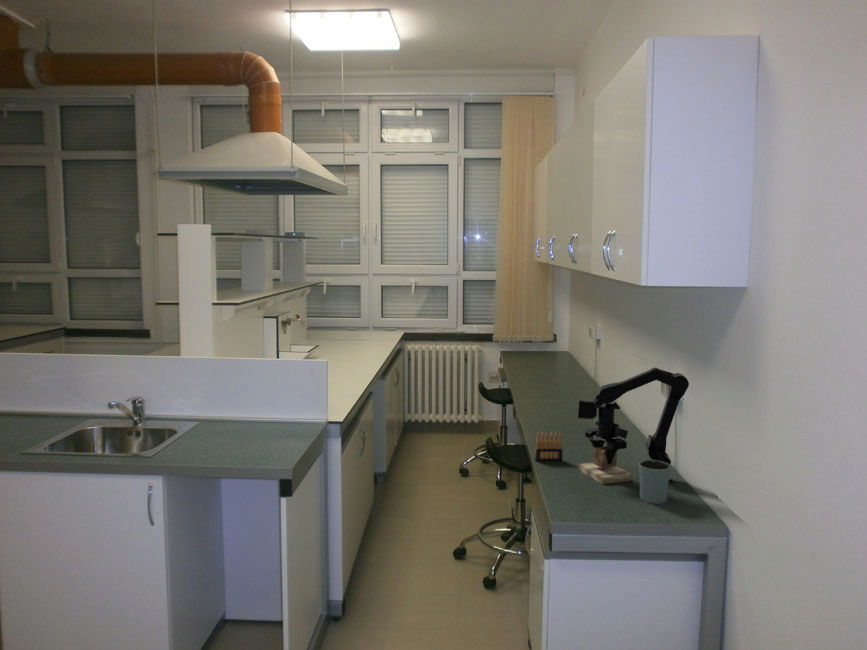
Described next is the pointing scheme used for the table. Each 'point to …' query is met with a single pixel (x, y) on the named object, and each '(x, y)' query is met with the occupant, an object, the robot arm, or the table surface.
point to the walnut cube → (602, 458)
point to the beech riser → (604, 473)
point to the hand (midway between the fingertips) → (604, 461)
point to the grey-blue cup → (654, 481)
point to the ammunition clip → (548, 448)
